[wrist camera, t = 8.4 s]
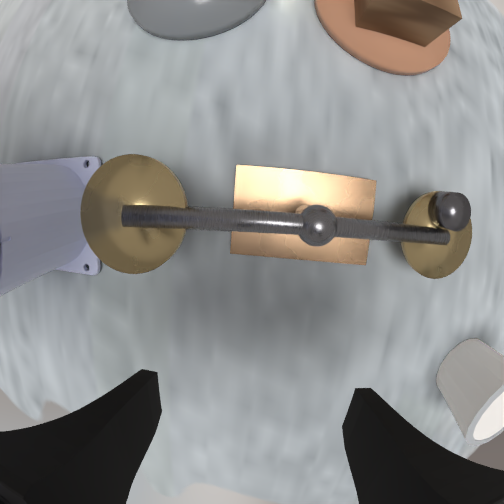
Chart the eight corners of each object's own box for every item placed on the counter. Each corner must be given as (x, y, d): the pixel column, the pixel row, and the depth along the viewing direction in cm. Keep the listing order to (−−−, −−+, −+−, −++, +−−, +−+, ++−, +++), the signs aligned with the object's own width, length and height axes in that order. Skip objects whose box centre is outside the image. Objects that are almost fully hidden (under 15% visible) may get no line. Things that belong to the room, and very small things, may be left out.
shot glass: (473, 316, 18) (524, 357, 12) (498, 353, 19) (540, 391, 12) (416, 380, 20) (452, 436, 13) (449, 407, 21) (481, 454, 14)
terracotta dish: (313, 57, 15) (315, 51, 14) (313, -42, 13) (315, -50, 12) (449, 92, 15) (457, 89, 14) (433, -9, 13) (438, -14, 12)
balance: (135, 241, 18) (73, 271, 11) (138, 162, 17) (72, 155, 10) (440, 268, 18) (503, 304, 11) (451, 196, 17) (522, 206, 10)
